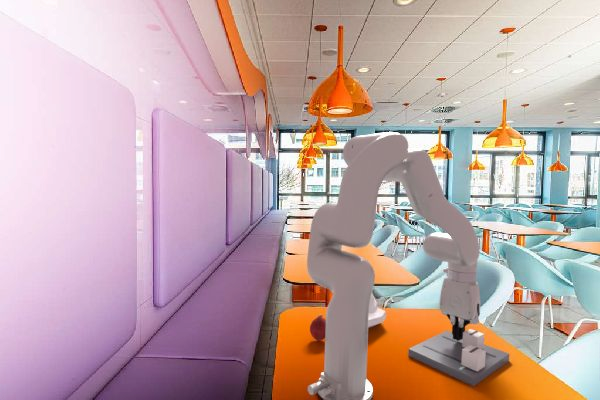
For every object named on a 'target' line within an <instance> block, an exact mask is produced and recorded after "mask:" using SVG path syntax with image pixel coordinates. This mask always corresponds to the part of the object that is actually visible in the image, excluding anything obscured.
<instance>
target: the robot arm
mask: <svg viewBox="0 0 600 400" xmlns="http://www.w3.org/2000/svg"><path fill="white" fill-rule="evenodd" d="M342 157H343V160H344V163H345V164H346V165H347V167H346V169H345V171H344V173H343V175H342V177H341V181H340V187H339V193H338V196H337V197H338V199H337V201H336V202H332V201H331V202H327V203H324V204H322V205H320V206H319V207H318V209H316V212H315V213H314V215H313V217H312V220H311V224H310V231H309V240H308V249H307V258H306V261H307V262H306V269H307V274H308V276H309V278H310V279H311V280H312V282H314V283H315V284H317V285H318V286H321V287H322V288H325V289H327V290H329V291H331V293H332V296H331V299H330V301H329V302H328V305H327V308H326V311H325V312H326V313H325V320H326V331H325V338H324V339H325V341H324V364H323V365H324V369H323V372H321V373H320V377H319V378H318V380H317V381H316V382H313V383H311V384H310V385H308V386H307V392H308V393H309V395H310V396H314V395H315V394H318V395H319V397H320V398H322V399H323V400H372V398H373V395H374V393H373V392H374V388H373V385H372V383H371V382H370V381H369V380H368V379H367V373H368V372H367V370H368V369H367V367H368V366H367V365H368V345H369V344H368V343H369V341H368V340H369V328H368V318H369V306H370V299H371V294H372V293H373V289H374V288H375V280H376V273H375V270H374V267H373V265H372V264H371V262H369V261H368V260H367V259H366V258H364V257H362V256H360V255H358V254H356V253H352V252H349V251H345V250H342V248H343V246H344V247H348V248H353V249H361V248H364V247H366V246H368V245H369V244H370V242H371V241H372V238H373V234H374V229H375V221H376V214H377V204H378V197H379V190H380V187H381V185H382V183H383V181H384V182H396V183H398V182H399V183H401V184H402V187H403V189H404V191H405V194H406V197H407V199H408V202H409V204H410V206H411V209H412V210H413V212H414V213H415V214H416V215H417V216H419V217H420V218H422V219H424V220H426V221H428V222H429V223H431V224H433V225H435V226H437V227H439V228H440V229H441V230H443V231H444V232H439V231H437V232H432V233H430V234H428V235H426V237H425V238H424V240H423V243H422V248H423V249H422V250H423V251H424V253H425V254H426V255H427V257H429V258H431V259H434V260H438V261H441V262H444V263H445V262H447V267H444V268H443V273H445V274H446V277H444V278H443V280H442V285H441V289H440V295H439V306H438V307H439V310H440V313H441V314H442V315H444V316H445V317H447V318H448V320H449V322H450V325H452V326H451V332H452V334H453V339H456V340H457V341H459V340H461V339H463V332H465V331H466V326H468V325H478V324H480V320H479V317H480V315H481V294H480V286H479V283H478V282H477V274H478V273H477V272H478V259H479V257H480V245H479V237H478V235H477V233H476V231H475V229H474V227H473V224H472V222H471V221H470V220H469V219H468V217H467V216H466V215H465V214H464V213H463V212H461V210H459V208H457V206H455V204H453V203H452V202H450V201H449V200H448V199H447V198H446V196H445V193H444V191H443V188H442V185H441V183H440V180H439V177H438V174H437V172H436V169H435V167H434V163H433V161H432V159H431V156H430V155H429V153H428V152H427V151H425V150H424V149H421V148H415V147H413V148H412V147H410V148H409V142H408V139H407V138H406V136H405V135H403V134H401V133H399V132H393V131H389V132H388V131H386V132H378V133H371V134H364V135H362V134H361V135H357V136H354V137H351V138H350V139H349V140H347V141H346V143H345V144H344V145H343V149H342Z"/></svg>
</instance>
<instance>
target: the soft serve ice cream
mask: <svg viewBox="0 0 600 400" xmlns="http://www.w3.org/2000/svg"><path fill="white" fill-rule="evenodd" d="M386 318H387V312H386V310H384V309H381V308H380V307H379V306H378V302H377V300H376V299H375V296H374V293H373V292H372V294H371V299H370V306H369V318H368V329H369V328H372V327H375V326H376V325H379V324H381V323H383V322H384V321H385V319H386Z"/></svg>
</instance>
